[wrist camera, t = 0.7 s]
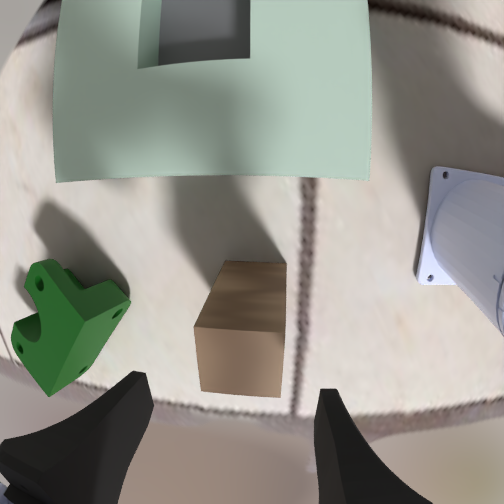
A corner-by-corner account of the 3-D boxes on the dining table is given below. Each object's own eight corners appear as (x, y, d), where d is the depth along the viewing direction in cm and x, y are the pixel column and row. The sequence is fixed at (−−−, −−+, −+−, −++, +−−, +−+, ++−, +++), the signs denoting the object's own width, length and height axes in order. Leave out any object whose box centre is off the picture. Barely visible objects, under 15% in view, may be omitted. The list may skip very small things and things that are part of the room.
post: (286, 263, 21) (285, 332, 14) (283, 316, 22) (280, 397, 15) (225, 260, 21) (193, 326, 14) (226, 313, 23) (201, 391, 15)
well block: (345, -70, 12) (352, -96, 9) (355, 173, 19) (369, 180, 15) (98, -43, 14) (75, -60, 11) (85, 174, 20) (56, 183, 17)
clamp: (106, 250, 27) (49, 234, 18) (149, 298, 27) (101, 301, 18) (38, 338, 26) (-24, 349, 17) (75, 385, 26) (18, 411, 17)
